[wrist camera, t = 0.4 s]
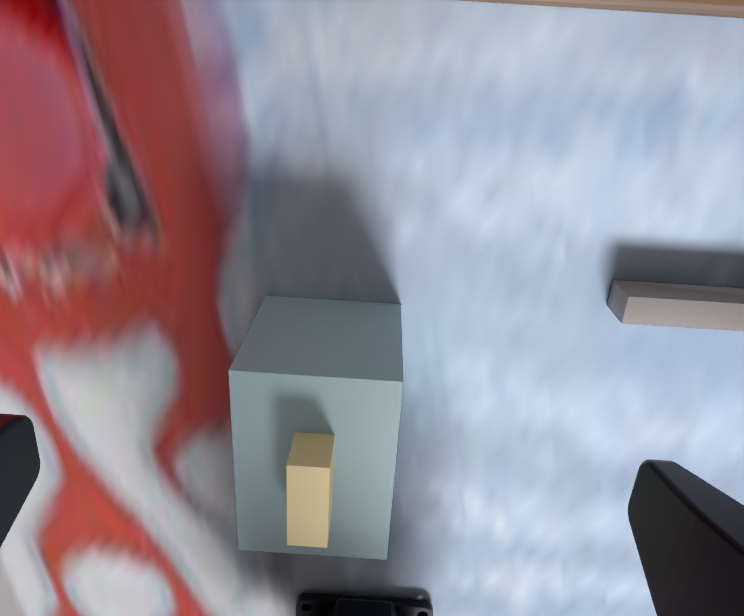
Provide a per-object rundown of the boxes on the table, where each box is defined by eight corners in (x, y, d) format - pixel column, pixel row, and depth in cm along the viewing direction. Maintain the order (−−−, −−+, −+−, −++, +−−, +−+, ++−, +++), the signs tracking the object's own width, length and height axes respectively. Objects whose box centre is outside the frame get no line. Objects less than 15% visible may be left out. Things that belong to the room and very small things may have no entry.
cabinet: (387, 454, 24) (386, 598, 18) (269, 446, 24) (226, 588, 18) (400, 302, 22) (404, 412, 15) (266, 294, 22) (213, 400, 15)
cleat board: (859, 321, 21) (956, 379, 17) (333, 287, 21) (321, 338, 18) (1017, -26, 16) (1193, -44, 13) (344, -67, 17) (331, -98, 13)
